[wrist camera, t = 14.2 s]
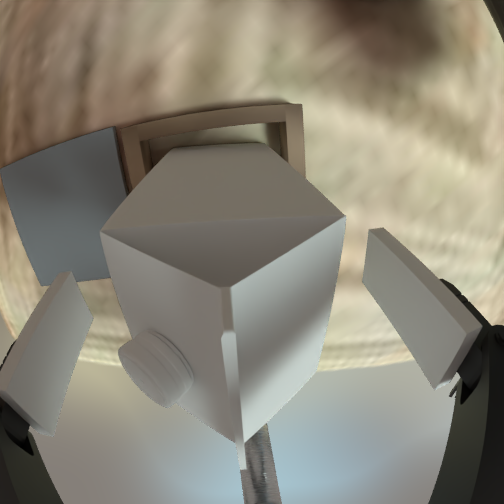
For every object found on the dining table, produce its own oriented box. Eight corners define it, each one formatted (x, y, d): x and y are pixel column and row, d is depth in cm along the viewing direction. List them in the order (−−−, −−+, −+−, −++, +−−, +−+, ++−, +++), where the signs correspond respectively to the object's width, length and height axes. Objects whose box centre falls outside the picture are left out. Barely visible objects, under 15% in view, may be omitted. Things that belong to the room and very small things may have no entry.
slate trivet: (2, 167, 18) (-1, 169, 17) (115, 126, 18) (112, 126, 18) (43, 283, 24) (41, 286, 24) (149, 269, 25) (148, 273, 24)
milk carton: (265, 142, 21) (430, 303, 4) (264, 226, 24) (343, 452, 8) (171, 147, 20) (28, 331, 4) (180, 231, 24) (142, 469, 7)
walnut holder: (130, 125, 19) (120, 128, 17) (292, 103, 19) (301, 103, 17) (161, 264, 25) (157, 280, 23) (298, 246, 26) (306, 260, 23)
